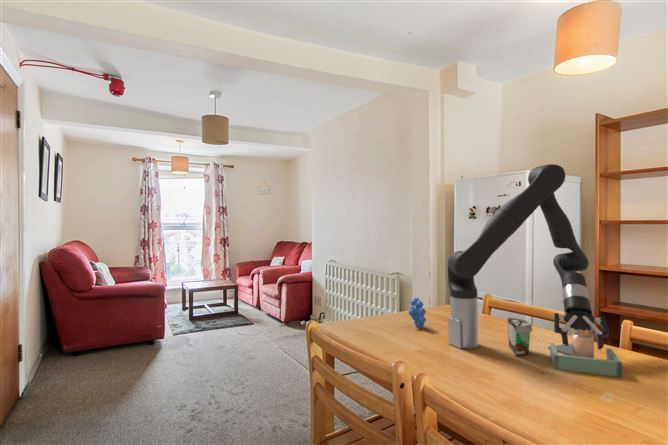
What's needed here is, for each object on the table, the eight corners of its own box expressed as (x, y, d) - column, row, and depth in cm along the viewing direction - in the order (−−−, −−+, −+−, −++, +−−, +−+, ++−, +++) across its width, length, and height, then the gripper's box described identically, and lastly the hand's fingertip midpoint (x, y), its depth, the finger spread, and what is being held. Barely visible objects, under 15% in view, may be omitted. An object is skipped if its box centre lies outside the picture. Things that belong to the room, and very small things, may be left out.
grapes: (402, 323, 166) (402, 296, 166) (417, 322, 167) (416, 295, 167) (414, 331, 154) (414, 301, 154) (429, 329, 156) (429, 300, 156)
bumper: (622, 377, 107) (621, 362, 107) (554, 368, 113) (554, 355, 113) (611, 361, 118) (610, 348, 118) (550, 354, 125) (550, 342, 125)
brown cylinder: (586, 369, 112) (585, 338, 112) (568, 363, 118) (567, 333, 118) (598, 366, 115) (598, 336, 114) (580, 360, 120) (579, 331, 120)
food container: (537, 359, 122) (537, 327, 122) (517, 357, 123) (516, 326, 123) (526, 346, 134) (526, 317, 134) (507, 345, 135) (507, 317, 135)
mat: (573, 357, 122) (573, 355, 122) (548, 348, 131) (548, 346, 131) (592, 353, 126) (592, 351, 126) (566, 345, 134) (566, 343, 134)
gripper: (552, 293, 127) (556, 337, 116) (603, 296, 121) (613, 343, 110) (550, 306, 132) (555, 349, 121) (600, 309, 126) (609, 355, 115)
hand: (583, 346), depth 116 cm, fingers open, 8 cm apart
